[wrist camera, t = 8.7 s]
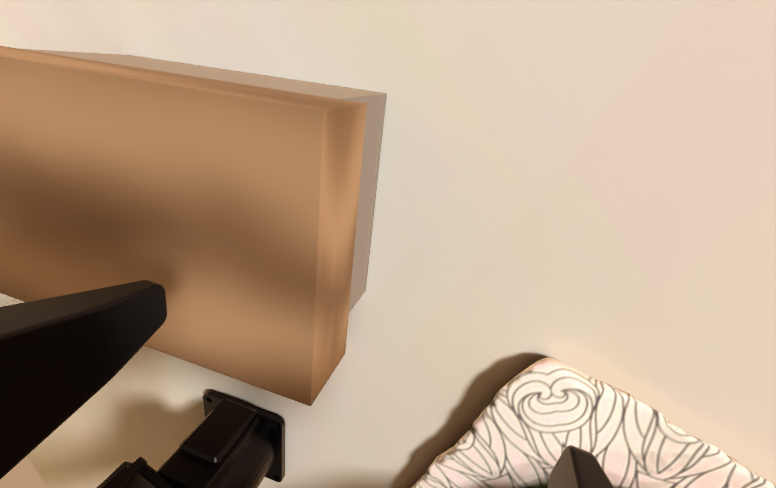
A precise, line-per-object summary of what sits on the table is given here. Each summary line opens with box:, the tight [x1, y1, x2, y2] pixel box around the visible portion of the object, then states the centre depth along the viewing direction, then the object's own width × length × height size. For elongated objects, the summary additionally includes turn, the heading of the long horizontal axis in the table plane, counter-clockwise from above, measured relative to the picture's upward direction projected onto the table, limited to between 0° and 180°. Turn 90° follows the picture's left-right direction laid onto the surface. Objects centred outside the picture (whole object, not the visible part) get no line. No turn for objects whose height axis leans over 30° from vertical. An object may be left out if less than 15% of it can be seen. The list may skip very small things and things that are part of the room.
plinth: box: [23, 49, 386, 312], centre depth 18 cm, size 10×14×5 cm
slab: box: [0, 46, 367, 406], centre depth 15 cm, size 10×16×3 cm, turn 83°
